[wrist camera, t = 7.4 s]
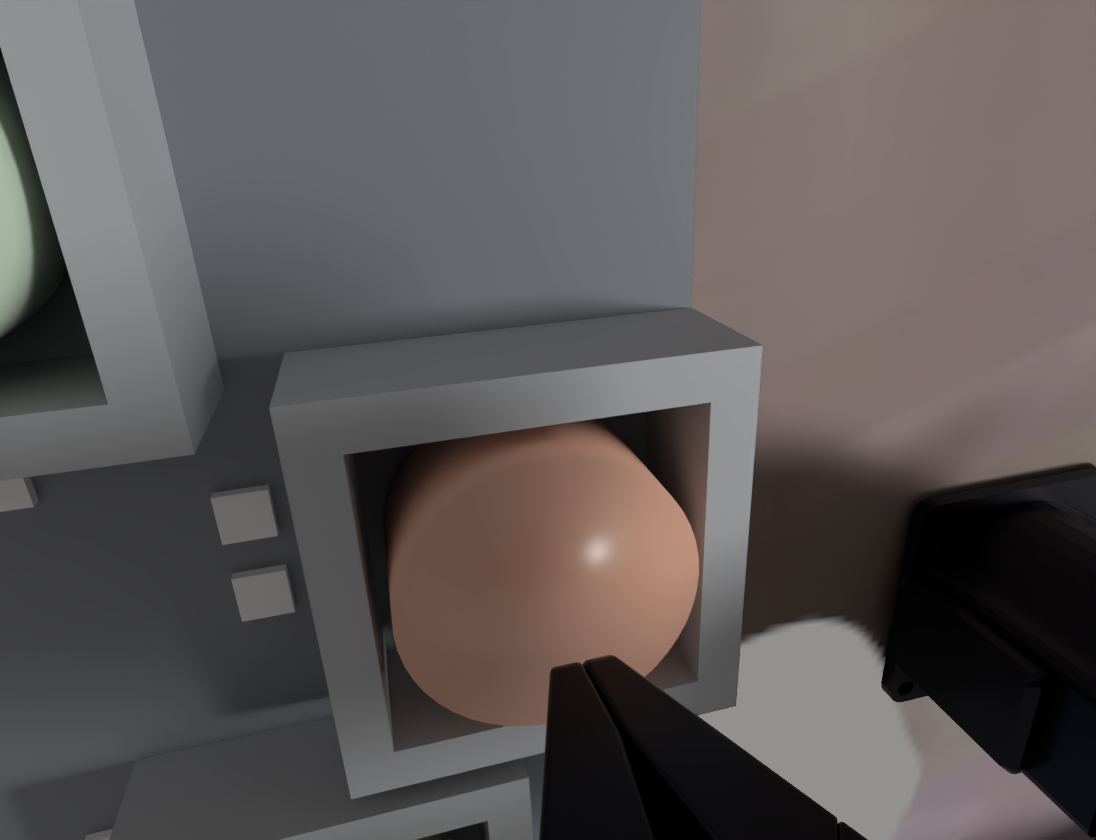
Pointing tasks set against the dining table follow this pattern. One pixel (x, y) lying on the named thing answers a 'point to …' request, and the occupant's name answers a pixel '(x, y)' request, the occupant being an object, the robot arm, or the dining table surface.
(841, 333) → the dining table surface
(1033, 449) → the dining table surface
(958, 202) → the dining table surface
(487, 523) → the terracotta button
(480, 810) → the button panel
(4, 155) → the sage button
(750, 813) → the robot arm
